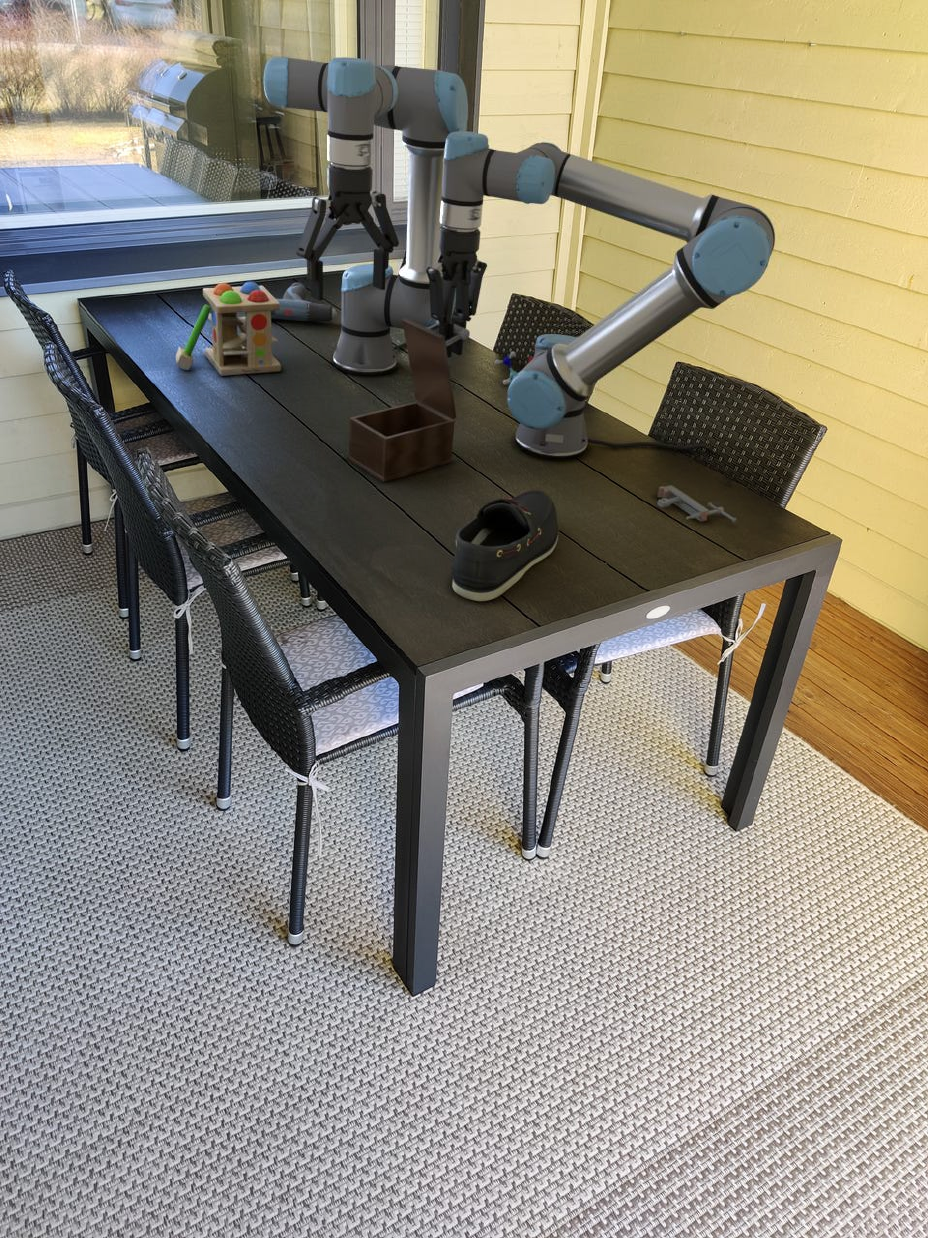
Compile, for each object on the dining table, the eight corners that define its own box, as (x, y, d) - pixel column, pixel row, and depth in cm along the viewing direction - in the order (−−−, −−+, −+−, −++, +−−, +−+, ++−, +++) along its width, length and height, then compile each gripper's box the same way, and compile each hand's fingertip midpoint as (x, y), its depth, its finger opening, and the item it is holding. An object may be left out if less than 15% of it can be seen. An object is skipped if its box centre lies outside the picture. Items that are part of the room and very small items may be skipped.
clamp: (647, 488, 189) (686, 480, 193) (645, 499, 190) (684, 490, 195) (698, 524, 178) (739, 515, 183) (696, 535, 180) (736, 525, 184)
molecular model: (539, 386, 226) (526, 343, 224) (502, 400, 229) (488, 358, 228) (551, 385, 236) (539, 344, 235) (515, 398, 240) (503, 358, 238)
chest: (384, 482, 187) (385, 439, 182) (348, 459, 194) (349, 417, 189) (451, 462, 197) (454, 420, 192) (415, 441, 204) (417, 400, 199)
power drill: (344, 304, 276) (335, 327, 259) (277, 298, 275) (264, 321, 258) (344, 285, 273) (335, 306, 256) (277, 279, 272) (264, 300, 255)
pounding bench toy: (183, 379, 220) (176, 299, 210) (169, 357, 231) (162, 280, 221) (282, 371, 230) (280, 294, 220) (264, 350, 240) (262, 276, 230)
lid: (440, 337, 179) (474, 319, 183) (401, 319, 186) (434, 302, 190) (453, 419, 191) (484, 401, 195) (416, 399, 198) (446, 382, 202)
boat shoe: (583, 534, 177) (590, 481, 172) (488, 608, 153) (493, 549, 148) (521, 514, 183) (526, 462, 178) (421, 583, 159) (423, 525, 154)
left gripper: (299, 174, 154) (301, 308, 166) (422, 164, 169) (415, 289, 181) (273, 164, 159) (277, 296, 171) (395, 155, 173) (390, 278, 185)
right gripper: (441, 235, 171) (433, 366, 184) (504, 228, 180) (492, 353, 193) (414, 225, 175) (408, 354, 188) (477, 218, 184) (467, 342, 197)
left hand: (348, 292), depth 176 cm, fingers open, 13 cm apart
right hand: (450, 353), depth 191 cm, fingers closed on lid, 2 cm apart
